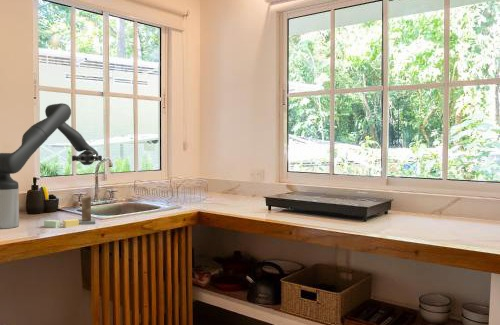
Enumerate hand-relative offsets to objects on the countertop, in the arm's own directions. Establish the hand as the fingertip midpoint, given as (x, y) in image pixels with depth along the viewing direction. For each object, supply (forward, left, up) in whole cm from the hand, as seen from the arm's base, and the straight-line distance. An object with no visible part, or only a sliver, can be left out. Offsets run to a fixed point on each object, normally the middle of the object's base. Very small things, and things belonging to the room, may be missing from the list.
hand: (86, 158), depth 220 cm
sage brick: (-14, -17, -30) cm, 38 cm away
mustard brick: (-6, -18, -30) cm, 36 cm away
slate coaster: (0, -11, -30) cm, 32 cm away
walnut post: (0, -11, -29) cm, 31 cm away
